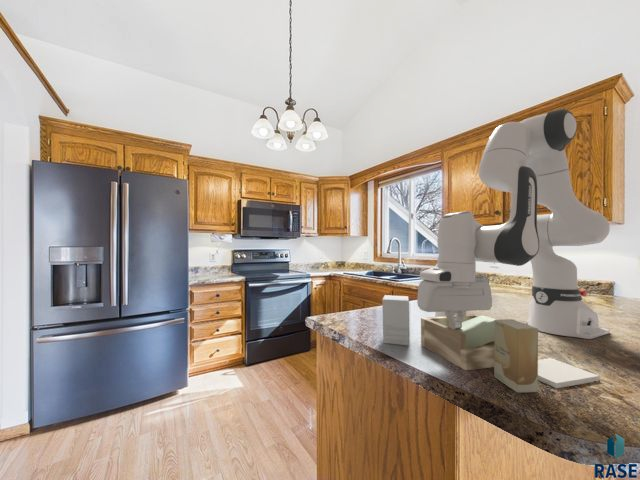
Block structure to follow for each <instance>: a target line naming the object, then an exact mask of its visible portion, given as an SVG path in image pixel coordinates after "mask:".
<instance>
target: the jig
mask: <svg viewBox="0 0 640 480" xmlns="http://www.w3.org/2000/svg"><path fill="white" fill-rule="evenodd" d="M478 316H480V315H479V314H475V313H472V314H466V316H465V318H464V320H463V321H462V322H464V321H467V320H470V319H473V318H476V317H478ZM454 318H456V316H454ZM420 345H421V346H422V347H424V348H426V349H428V350H429V351H431V352H433V353H435V354H436V355H438V356H440V357H442V358H443V359H445V360H446V361H449V362H450V363H452V364H453V365H456V366H457V367H459V368H461V369H463V370H464V371H471V370H479V369H487V368H488V369H489V368H494V355H495V354H494V353H495V352H494V351H495V341H492V342H490V343H487V344H484V345H482V346H479V347H477V348H472V349H466V334H465V333H463V332H460V331H458V330H455V329H453V328H450V327H449V320H448V319H447V317H446V316H442V317H435V316H429V317H428V316H427V317H421V318H420Z"/></svg>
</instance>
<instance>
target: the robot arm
mask: <svg viewBox="0 0 640 480" xmlns="http://www.w3.org/2000/svg"><path fill="white" fill-rule="evenodd" d="M576 133H577V121H576V118H575V115H574V114H573V112H572V111H570V110H568V109H566V108H560V109H554V110H551V111H548V112H547V113H541V114H539V115H535V116H531V117H530V116H529V117H527V118H525V119H522V121H509V122H505V123H502V124H500V125H498V126H497V127H496V128H495V129H494V130H493V132H492V133H491V135H490V136H489V138H488V139H487V142H486V145H485V147H484V150H483V152H482V155H481V159H480V163H479V167H478V176H479V177H478V178H479V179H480V181H481V182H482V183H483V184H484V185H485V186H486V187H488V188H490V189H493V190H494V191H499V192H506V193H510V207H509V208H510V211H509V219H508V220H507V221H506V222H504V223H502V224H496V225H484V224H482V223H480V222H478V221H477V220H476V219H475V217H474V213H473V212H472V211H468V210H465V211H464V210H463V211H459V212H458V211H457V212H451V213H446V214H444V215H442V216H441V218H440V220H439V223H438V228H437V249H438V257H437V263H436V264H437V266H436V265H435V266H432V267H430V268H428V269H424V270H422V271H420V273H419V278H420V280H421V281H420V282H419V284H418V288H417V301H416V302H417V303H416V304H417V307H418V308H419V309H420V311H424V312H427V313H435V312H445V315H446V317H447V319H448V320H449V327H450V328H453V329H461V328H462V321H463V320H464V318H465V316H466V315H467V312H469V311H470V312H473V311H477V312H478V311H490V310H491V308H492V307H493V297H492V295H493V294H492V290H491V289H492V288H491V285H490V280H489V278H488V277H487V276H486V275H485V274H483V273H479V274H476V266H477V265H476V262H479V263H480V262H481V263H493V264H494V263H495V264H504V265H511V266H517V267H520V266H524V265H526V264H527V263H529V262H530V264H531V268H532V279H533V280H532V281H533V283H532V284H533V285H532V286H531V296H532V299H531V300H530V302H529V310H528V311H529V312H528V318H527V319H525V324H527V325H529V326H532V327H535V328H538V332H543V333H547V334H551V335H557V336H562V337H563V336H565V337H572V338H573V337H574V338H579V339H580V338H581V339H587V340H593V339H595V338H599V337H602V336H604V335H608V334H610V330H609V329H608V328H606V327H605V328H604V327H602V326H600V324H599V315H598V313H597V312H596V311H594V310H593V309H592V308H590V306H589V305H587V304H586V303H585V302H584V301H583V298H582V297H587V295H588V292H587V290H586V289H579V288H578V267H577V266H576V264H575V263H574V262H573V261H572V260H570V259H568V258H566V257H563V256H561V255H558V254H556V253H555V251H554V249H553V247H581V246H582V247H583V246H589V245H595V244H600V243H602V242H603V241H604V240H606V238H607V237H608V236H609V233H610V230H611V226H610V223H609V220H608V219H607V218H606V216H604V215H603V214H602V213H600V212H598V211H596V210H593V209H592V208H589V207H587V206H586V205H585V204H583V203H582V202H581V201H580V200H579V199H578V198H577V196H576V194H575V192H574V188H573V186H572V181H571V173H570V167H569V160H568V156H567V153H566V150H565V149H566V146H568V145H569V144H570V143H571V142H572V141H573V139H574V138H575V136H576ZM538 205H539V206H543V207H545V208H547V209H548V210H550V212H551V213H546V214H544V213H542V214H538ZM455 313H457V315H456V318H454V316H453V315H455Z"/></svg>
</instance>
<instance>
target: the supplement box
mask: <svg viewBox="0 0 640 480" xmlns="http://www.w3.org/2000/svg"><path fill="white" fill-rule="evenodd" d="M381 301H382V342H383V344H391V345H400V346H401V345H402V346H410V333H411V332H410V300H409V296H408V295H407V296H405V295H392V294H390V295H389V294H388V295H387V294H384V296H383V297H382V300H381Z"/></svg>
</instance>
